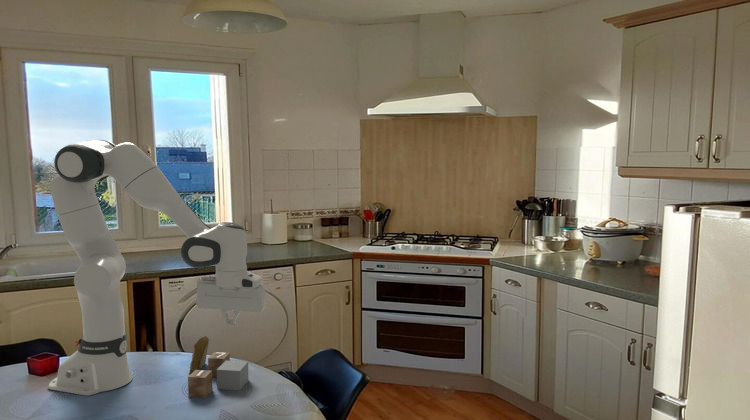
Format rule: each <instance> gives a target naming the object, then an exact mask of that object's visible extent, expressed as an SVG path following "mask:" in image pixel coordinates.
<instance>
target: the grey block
mask: <svg viewBox="0 0 750 420" xmlns="http://www.w3.org/2000/svg"><path fill="white" fill-rule="evenodd" d="M248 382H249V361H242V360H241V361H239V360H230V361H225V362H224V363H223V364H222V365H221V366H220V367H219V368H218V369H217V377H216V389H217V390H225V391H226V390H228V391H241V390H242V389H243V388H244V387H245V386H246V384H247V383H248Z"/></svg>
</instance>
